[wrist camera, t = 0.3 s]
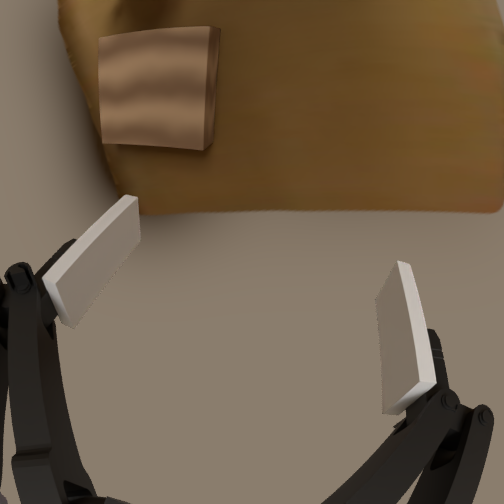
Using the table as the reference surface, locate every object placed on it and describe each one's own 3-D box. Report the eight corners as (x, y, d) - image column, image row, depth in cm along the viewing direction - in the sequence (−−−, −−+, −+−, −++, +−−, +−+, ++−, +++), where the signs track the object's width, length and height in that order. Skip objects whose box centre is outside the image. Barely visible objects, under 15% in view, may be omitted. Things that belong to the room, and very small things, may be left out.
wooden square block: (115, 36, 32) (98, 37, 29) (220, 28, 30) (209, 26, 27) (117, 135, 42) (102, 143, 38) (213, 141, 40) (203, 150, 37)
